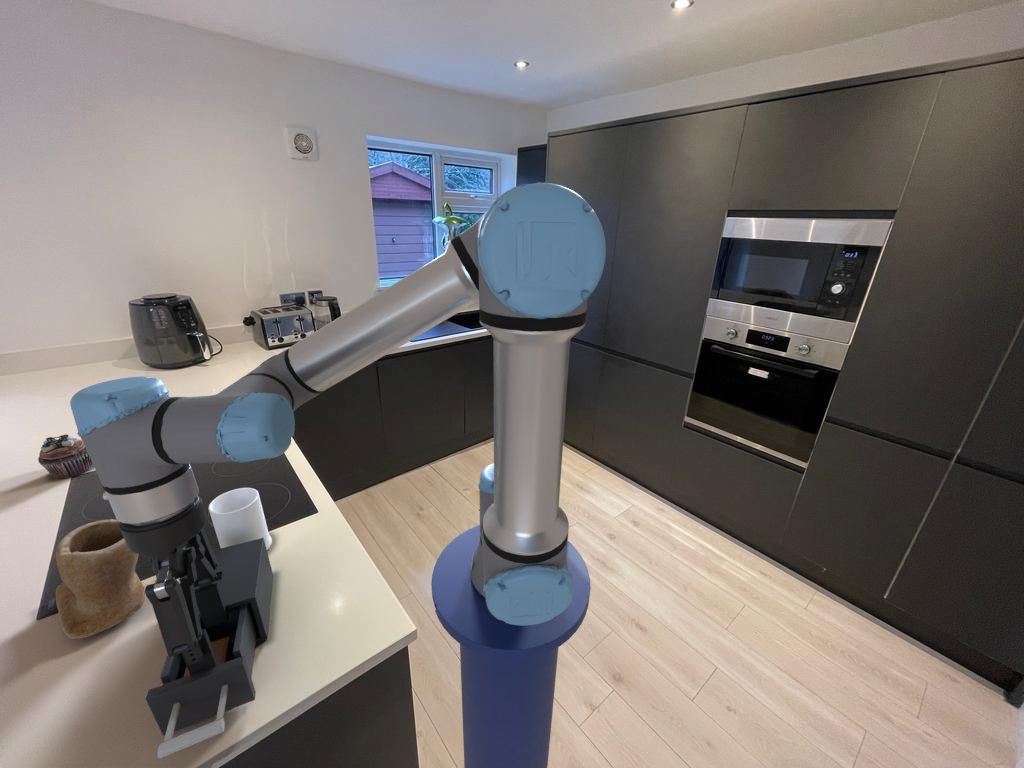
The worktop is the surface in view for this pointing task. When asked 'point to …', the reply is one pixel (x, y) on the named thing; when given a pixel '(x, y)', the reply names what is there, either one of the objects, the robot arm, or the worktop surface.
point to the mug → (239, 518)
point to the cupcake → (65, 457)
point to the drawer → (205, 685)
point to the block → (220, 652)
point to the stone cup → (96, 579)
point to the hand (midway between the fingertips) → (211, 645)
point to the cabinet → (246, 580)
